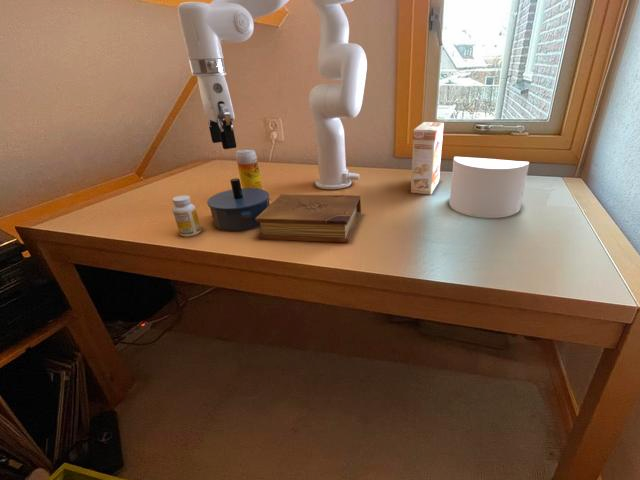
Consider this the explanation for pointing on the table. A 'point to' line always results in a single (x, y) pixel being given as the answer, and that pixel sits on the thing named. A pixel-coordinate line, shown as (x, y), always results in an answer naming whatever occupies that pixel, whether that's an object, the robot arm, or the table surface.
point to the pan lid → (238, 197)
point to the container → (487, 186)
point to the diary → (310, 218)
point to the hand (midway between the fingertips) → (224, 145)
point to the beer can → (248, 168)
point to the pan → (238, 218)
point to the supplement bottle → (186, 216)
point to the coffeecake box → (426, 157)
